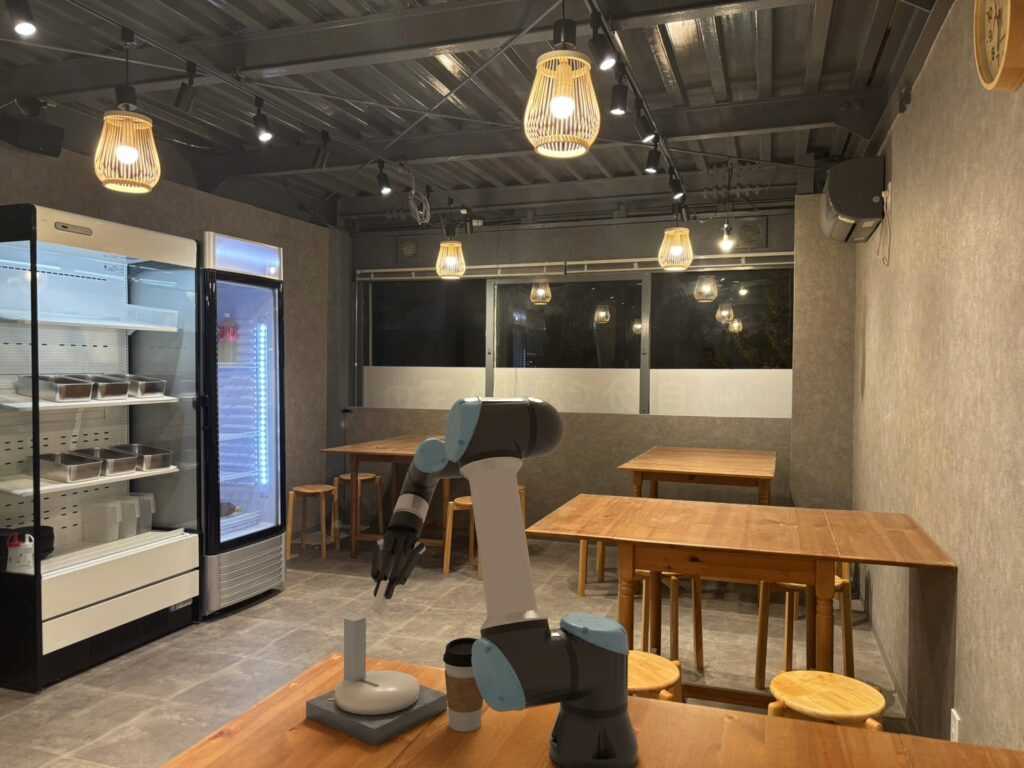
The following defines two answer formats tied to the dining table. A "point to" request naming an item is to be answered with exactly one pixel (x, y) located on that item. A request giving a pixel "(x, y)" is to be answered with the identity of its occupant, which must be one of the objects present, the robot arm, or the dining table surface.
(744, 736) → the dining table surface
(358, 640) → the dial
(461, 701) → the coffee cup
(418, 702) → the dial housing
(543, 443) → the robot arm
